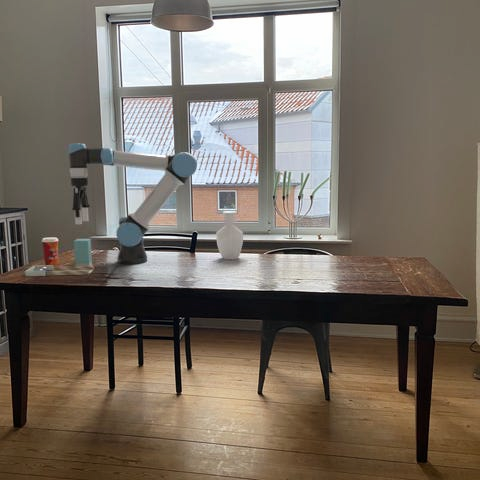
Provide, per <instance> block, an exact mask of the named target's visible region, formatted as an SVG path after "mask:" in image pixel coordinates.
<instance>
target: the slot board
mask: <svg viewBox="0 0 480 480" xmlns="http://www.w3.org/2000/svg"><path fill="white" fill-rule="evenodd" d="M94 270H95V266H94V265H92V266H75V265H73V266H71V265H69V266H66V265H64V266H53V270H46V276H73V275H74V276H76V275H77V276H78V275H79V276H80V275H82V276H83V275H84V276H85V275H87V276H88V275H90V274H91V273H92V272H93V271H94Z"/></svg>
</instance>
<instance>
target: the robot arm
mask: <svg viewBox="0 0 480 480" xmlns="http://www.w3.org/2000/svg"><path fill="white" fill-rule="evenodd" d="M68 149H69V150H68V159H69V170H68V172H69V173H70V185H71V186H72V187H73V199H72V208H71V209H72V211H74V223H75V225H83V222H89V220H90V219H89V208H90V204H89V198H88V192H87V186H88V185H89V179H88V176H89V175H88V165H101V166H110V167H111V166H113V167H123V168H135V169H144V170H154V171H162V172H164V175H163V176H162V177H161V179H160V180H159V181H158V183H157V184H156V185H155V186H154V188H153V189H152V190H151V191H150V192H149V194H148V195H147V196H146V197H145V199H144V200H143V201H142V203H141V204H140V206H139V207H138V208H137V209H136V210H135V212H133V213H129V214H128V215H127V216H124V217H120V218H119V221H118V225H119V226H118V227H117V229H116V233H115V234H116V239H117V241H118V242H119V244H120V247H119V250H118V255H117V257H116V261H117V263H119V264H125V265H134V264H136V265H137V264H143V263H146V262H148V255H147V253H146V250H145V246H144V236H145V234H146V233H147V232H148V231H149V229H150V226H149V225H150V223H151V222H152V220H154V218H155V217H156V216H157V214H158V213H159V211H161V209H162V208H163V206H164V205H165V204H166V203H167V202H168V200H169V199H170V198H171V197H172V195H173V194H174V193H175V191H176V190H177V189H178V188H179V187H180V186H184V185H185V183H187V181H189V179H190V177H192V176H193V175H194V174H195V172H196V171H197V168H198V162H197V159H196V158H195V157H194V156H193V155H192V154H191V153H190V152H186V151H181V152H179V153H177V154H176V153H175V154H170V153H167V154H166V155H162V154H161V155H160V154H149V153H140V152H131V151H123V150H121V151H120V150H113V148H110V147H95V148H94V147H91V148H89V147H86V143H70V144H69V145H68ZM74 187H75V188H74Z"/></svg>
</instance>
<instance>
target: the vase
mask: <svg viewBox="0 0 480 480" xmlns="http://www.w3.org/2000/svg"><path fill="white" fill-rule="evenodd" d="M237 213H238V212H237V211H235V210H234V211H233V210H231V211H230V210H229V211H228V210H225V211H222V215H223V219H224V222H225V225H224V226H223V227H221V228H220V229H219V230H217V231H216V234H215V235H216V236H215V237H216V244H217V249H218V251H219V254H220V255H221V258H222V259H223V258H224V260H229V259H232V260H237V258H238V259H239V257H240V255H241V252H242V247H243V244H244V231H242V230H241V229H240V228H238V227H237V226H236V225H235V220H236V217H237Z"/></svg>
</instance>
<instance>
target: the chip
mask: <svg viewBox="0 0 480 480" xmlns="http://www.w3.org/2000/svg"><path fill="white" fill-rule="evenodd" d="M38 266H39V267H36V269H37V268H43V271H44V270H45V273H47V270H46V266H41V265H38Z"/></svg>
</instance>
